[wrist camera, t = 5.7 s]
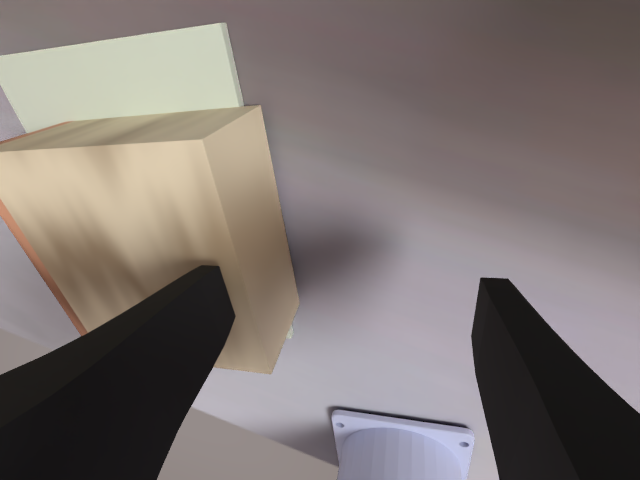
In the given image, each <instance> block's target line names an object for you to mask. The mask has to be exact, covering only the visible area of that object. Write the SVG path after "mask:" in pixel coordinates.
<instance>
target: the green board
mask: <svg viewBox="0 0 640 480" xmlns="http://www.w3.org/2000/svg"><path fill="white" fill-rule="evenodd" d="M0 85H1V87H2V89H3V91H4V93H5V94H6V96H7V98H8V100H9V102H10V103H11V105H12V107H13V109H14V111H15V113H16V114H17V116H18V118H19V120H20V122H21V124H22V125H23V127H24V129H25V131H26V133H30V132H34V131H37V130H40V129H43V128H47V127H50V126H53V125H56V124H60V123H63V122H68V121H79V120H91V119H103V118H114V117H126V116H138V115H149V114H161V113H172V112H184V111H196V110H207V109H219V108H231V107H242V106H244V103H243V98H242V94H241V89H240V85H239V80H238V75H237V71H236V66H235V62H234V57H233V52H232V48H231V43H230V39H229V34H228V29H227V25H226V23H217V24H210V25H203V26H197V27H190V28H183V29H176V30H170V31H163V32H156V33H150V34H143V35H136V36H130V37H123V38H116V39H110V40H103V41H96V42H90V43H83V44H76V45H70V46H63V47H56V48H50V49H43V50H36V51H30V52H23V53H16V54H9V55H3V56H0ZM293 333H294V332H293V328H292V324H291V326H290V329H289V331H288V334H287V336H286V338H290V339H291V338H292V336H293Z"/></svg>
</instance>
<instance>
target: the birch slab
mask: <svg viewBox="0 0 640 480" xmlns="http://www.w3.org/2000/svg"><path fill="white" fill-rule="evenodd" d="M0 216H1V217H2V219H3V220H4V221H5V223H6V224H7V226H8V227H9V229H10V230H11V232H12V233H13V235H14V236H15V238H16V239H17V241H18V242H19V244H20V245H21V247H22V248H23V250H24V251H25V253H26V254H27V256H28V257H29V259H30V260H31V262H32V263H33V265H34V266H35V268H36V269H37V271H38V272H39V274H40V275H41V277H42V278H43V279H44V281H45V282H46V284H47V285H48V287H49V288H50V290H51V291H52V293H53V294H54V296H55V297H56V299H57V300H58V302H59V303H60V305H61V306H62V308H63V309H64V311H65V312H66V314H67V315H68V317H69V318H70V320H71V321H72V323H73V324H74V326H75V327H76V329H77V330H78V332H79V333H80V335H81V336H83V335H85V334H87V333H89V332H90V331H92V330H94V329H96V328H97V327H99V326H101V325H103V324H104V323H106V322H108V321H109V320H111V319H113V318H114V317H116V316H118V315H120V314H121V313H123V312H125V311H126V310H128V309H130V308H131V307H133V306H135V305H136V304H138V303H140V302H141V301H143V300H144V299H146V298H147V297H149V296H151V295H152V294H154V293H155V292H157V291H159V290H160V289H162V288H163V287H165V286H167V285H168V284H170V283H171V282H173V281H175V280H176V279H178V278H179V277H181V276H183V275H184V274H186V273H188V272H189V271H191V270H193V269H195V268H197V267H199V266H201V265H209V266H219V267H220V270H221V273H222V276H223V279H224V282H225V285H226V288H227V291H228V294H229V297H230V300H231V303H232V306H233V309H234V312H235V315H236V317H235V320H234V323H233V325H232V328H231V331H230V334H229V336H228V338H227V341H226V343H225V346H224V348H223V350H222V352H221V353H220V355H219V357H218V359H217V361H216V363H215V364H214V366H213V367H215V368H224V369H232V370H240V371H248V372H256V373H264V374H272V372H273V369H274V367H275V364H276V362H277V359H278V356H279V354H280V351H281V349H282V346H283V344H284V341H285V339H286V336H287V334H288V331H289V329H290V326H291V324H292V321H293V319H294V316H295V314H296V311H297V309H298V306H299V304H300V302H299V297H298V292H297V287H296V282H295V277H294V272H293V267H292V262H291V257H290V252H289V247H288V242H287V237H286V232H285V226H284V221H283V216H282V211H281V206H280V201H279V196H278V191H277V186H276V181H275V176H274V171H273V166H272V161H271V156H270V151H269V146H268V140H267V135H266V130H265V125H264V120H263V115H262V110H261V105H254V106H242V107H231V108H219V109H207V110H196V111H184V112H172V113H161V114H149V115H138V116H126V117H114V118H103V119H91V120H79V121H68V122H63V123H60V124H56V125H53V126H50V127H47V128H43V129H40V130H37V131H34V132H30V133H27V134H24V135H21V136H17V137H14V138H11V139H8V140H4V141H1V142H0Z"/></svg>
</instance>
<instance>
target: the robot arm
mask: <svg viewBox="0 0 640 480" xmlns="http://www.w3.org/2000/svg"><path fill="white" fill-rule="evenodd" d="M235 317H236V315H235V312H234V309H233V306H232V303H231V300H230V297H229V294H228V291H227V288H226V285H225V282H224V279H223V276H222V273H221V270H220V267H219V266H209V265H201V266H199V267H197V268H195V269H193V270H191V271H189V272H188V273H186V274H184V275H183V276H181V277H179V278H178V279H176V280H175V281H173V282H171V283H170V284H168V285H167V286H165V287H163V288H162V289H160V290H159V291H157V292H155V293H154V294H152V295H151V296H149V297H147V298H146V299H144V300H143V301H141V302H140V303H138V304H136V305H135V306H133V307H131V308H130V309H128V310H126V311H125V312H123V313H121V314H120V315H118V316H116V317H114V318H113V319H111V320H109V321H108V322H106V323H104V324H103V325H101V326H99V327H97V328H96V329H94V330H92V331H90V332H89V333H87V334H85V335H83V336H81V337H79V338H77V339H76V340H74V341H72V342H70V343H68V344H66V345H64V346H62V347H60V348H58V349H56V350H54V351H52V352H50V353H48V354H46V355H44V356H42V357H40V358H38V359H35V360H33V361H31V362H29V363H26V364H24V365H22V366H19V367H17V368H15V369H13V370H10V371H8V372H6V373H4V374H1V375H0V480H157V477H158V475H159V473H160V470H161V468H162V465H163V463H164V461H165V459H166V456H167V454H168V451H169V450H170V447H171V445H172V443H173V441H174V438H175V436H176V434H177V432H178V430H179V428H180V426H181V424H182V422H183V420H184V418H185V416H186V414H187V413H188V411H189V409H190V407H191V405H192V404H193V402H194V400H195V398H196V397H197V395H198V393H199V391H200V389H201V388H202V386H203V384H204V382H205V381H206V379H207V377H208V375H209V373H210V372H211V370H212V368H213V366H214V364H215V363H216V361H217V359H218V357H219V355H220V353H221V352H222V350H223V348H224V346H225V343H226V341H227V338H228V336H229V334H230V331H231V328H232V325H233V323H234V320H235ZM471 338H472V348H473V357H474V366H475V374H476V379H477V383H478V388H479V392H480V396H481V401H482V405H483V409H484V414H485V418H486V422H487V426H488V431H489V435H490V439H491V443H492V448H493V452H494V456H495V461H496V465H497V469H498V474H499V480H640V414H639V413H638V412H637V411H636V410H635V409H634V408H632V407H631V406H630V405H629V404H628V403H627V402H626V401H625V400H623V399H622V398H621V397H620V396H619V395H618V394H617V393H616V392H615V391H614V390H612V389H611V388H610V387H609V386H608V385H607V384H606V383H605V382H604V381H603V380H602V379H601V378H600V377H599V376H598V375H597V374H596V373H595V372H594V371H593V370H592V369H591V368H590V367H589V366H588V365H587V364H586V363H585V362H584V361H583V360H582V359H581V358H580V357H579V356H578V355H577V354H576V353H575V352H574V351H573V350H572V349H571V348H570V347H569V346H568V345H567V344H566V343H565V342H564V341H563V340H562V339H561V338H560V337H559V336H558V334H557V333H556V332H555V331H554V330H553V329H552V328H551V327H550V326H549V325H548V324H547V323H546V321H545V320H544V319H543V318H542V317H541V316H540V315H539V314H538V312H537V311H536V310H535V309H534V308H533V307H532V306H531V304H530V303H529V302H528V301H527V300H526V299H525V298H524V296H523V295H522V294H521V293H520V292H519V291H518V289H517V288H516V287H515V286H514V285H513V284H512V282H511V281H510V280H509V279H503V278H480V284H479V291H478V297H477V303H476V310H475V316H474V322H473V329H472V335H471ZM331 420H332V425H333V431H334V437H335V443H336V449H337V455H338V461H339V471H338V477H337V480H466V479H467V474H468V470H469V465H470V460H471V456H472V451H473V446H474V441H475V439H474V433H473V432H472V431H471V430H470V429H467V428H462V427H455V426H449V425H442V424H435V423H428V422H421V421H414V420H407V419H400V418H393V417H387V416H380V415H373V414H366V413H359V412H352V411H345V410H334V411H333V412H332V417H331Z"/></svg>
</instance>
